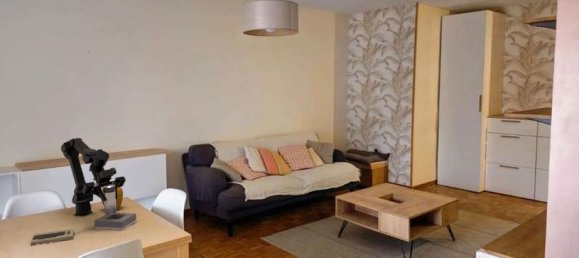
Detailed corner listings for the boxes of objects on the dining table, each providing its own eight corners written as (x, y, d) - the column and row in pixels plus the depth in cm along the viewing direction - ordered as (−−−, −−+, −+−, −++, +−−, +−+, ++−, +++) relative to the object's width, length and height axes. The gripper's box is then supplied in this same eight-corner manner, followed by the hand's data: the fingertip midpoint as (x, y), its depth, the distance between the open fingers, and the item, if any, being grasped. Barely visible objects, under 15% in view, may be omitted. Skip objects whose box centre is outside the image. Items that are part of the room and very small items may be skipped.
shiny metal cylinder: (103, 214, 189) (101, 187, 187) (105, 211, 194) (104, 184, 192) (115, 214, 190) (113, 186, 188) (117, 210, 195) (116, 183, 194)
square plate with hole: (94, 228, 190) (94, 220, 190) (109, 220, 202) (109, 212, 201) (122, 230, 188) (122, 221, 187) (136, 221, 200) (135, 213, 199)
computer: (31, 247, 171) (30, 239, 170) (33, 240, 178) (32, 233, 177) (73, 240, 177) (73, 233, 177) (74, 234, 185) (73, 227, 184)
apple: (100, 213, 213) (99, 189, 212) (102, 207, 223) (101, 184, 222) (123, 211, 217) (122, 187, 215) (124, 205, 227) (123, 182, 225)
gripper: (83, 165, 185) (95, 193, 179) (123, 159, 199) (135, 185, 193) (77, 180, 191) (89, 207, 185) (116, 173, 205) (128, 198, 199)
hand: (111, 199), depth 190 cm, fingers closed on shiny metal cylinder, 5 cm apart
